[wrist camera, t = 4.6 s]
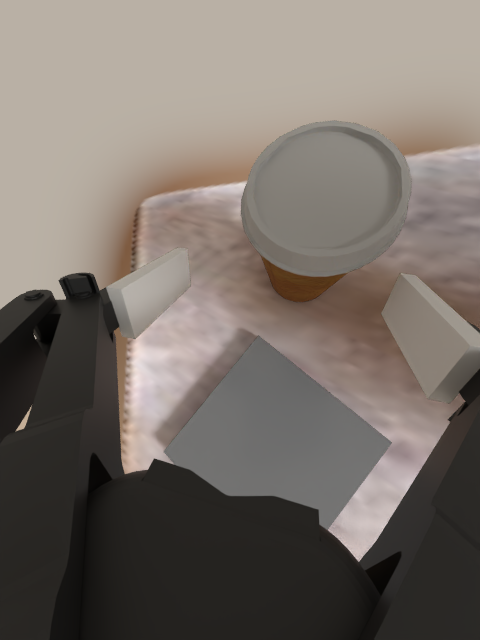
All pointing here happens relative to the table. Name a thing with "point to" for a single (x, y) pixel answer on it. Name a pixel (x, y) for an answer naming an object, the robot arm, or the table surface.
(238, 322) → the table surface
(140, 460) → the table surface
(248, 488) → the slate tile
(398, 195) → the disposable coffee cup
